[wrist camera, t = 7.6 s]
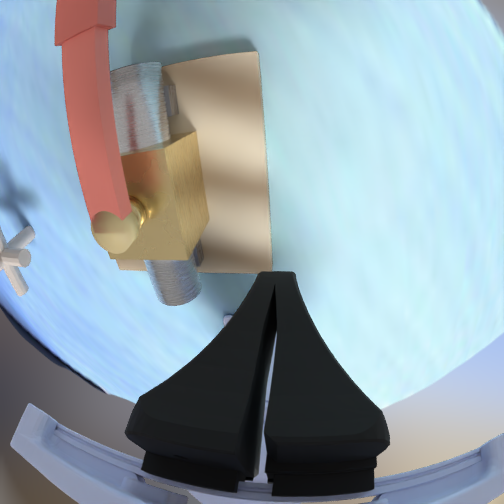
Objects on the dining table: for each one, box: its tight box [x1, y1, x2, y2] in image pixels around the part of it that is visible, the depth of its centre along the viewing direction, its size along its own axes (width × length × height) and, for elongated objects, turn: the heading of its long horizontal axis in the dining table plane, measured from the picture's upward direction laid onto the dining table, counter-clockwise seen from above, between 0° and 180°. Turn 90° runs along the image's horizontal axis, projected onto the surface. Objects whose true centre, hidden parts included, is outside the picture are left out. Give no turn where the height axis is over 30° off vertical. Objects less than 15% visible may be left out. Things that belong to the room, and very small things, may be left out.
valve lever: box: [55, 0, 139, 254], centre depth 9 cm, size 15×3×1 cm, turn 2°
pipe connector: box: [0, 226, 35, 296], centre depth 20 cm, size 10×10×10 cm
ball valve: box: [108, 62, 210, 306], centre depth 16 cm, size 16×6×7 cm, turn 4°
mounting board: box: [116, 51, 273, 274], centre depth 18 cm, size 16×14×1 cm
